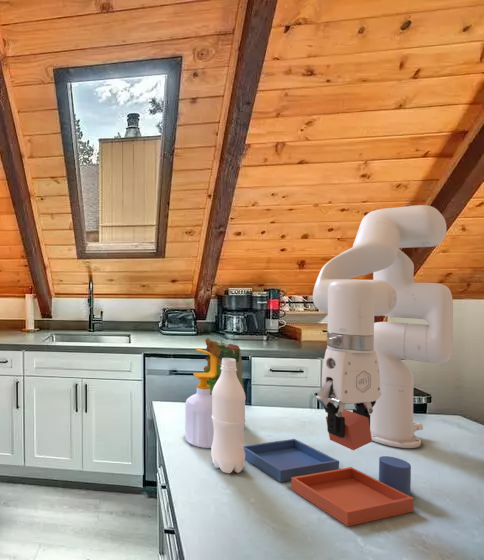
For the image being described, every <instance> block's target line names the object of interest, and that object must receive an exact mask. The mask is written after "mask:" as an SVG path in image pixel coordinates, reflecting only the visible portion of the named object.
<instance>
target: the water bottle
mask: <svg viewBox="0 0 484 560" xmlns="http://www.w3.org/2000/svg"><path fill="white" fill-rule="evenodd" d="M221 366H222V367H221V368H220V369H221V375H220V377H219V379H218V380H217V382H216V384H215V386H214V388H213V391H212V421H213V427H214V436H213V443H212V447H211V448H210V449H211V451H210V455H211V461H212V464H213V465H214V468H216V469H220V471H221V472H223V473H226V474H231V473H232V472H235V473H237V474H238V473H241V472H242V470H243V469H244V466H245V463H246V459H245V450H244V446H245V445H244V429H245V426H244V424H246V399H247V398H246V392H245V389H244V390H243V388H242V385H241V384H240V382H239V380H238V378H237V375H236V371H237V369H236V359H233V358H222V365H221Z"/></svg>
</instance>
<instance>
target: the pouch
mask: <svg viewBox="0 0 484 560" xmlns="http://www.w3.org/2000/svg"><path fill="white" fill-rule="evenodd" d="M204 342H205V345H206V348H205V351H208V352H210V353H211V354H213V355H214V356H216V358H217V375H216V377H215V378H209V380H208V381H207V385H209V386H210V395H211V396H212V391H213V388H214V386H215V384H216V382H217V380H218V379H219V377H220V375H221V369H220V368H221V367H222V366H221V365H222V358H233V359H236V369H237V371H236V375H237V378H238V380H239V382H240V384H241V385H242V388H243V390H244V391H245V385H244V382H243V381H244V380H243V372H244V369H243V368H244V366H243V365H244V364H243V359H242V353H241V348H240V346H239V345H237V344H234V343H226V342H223V341H222V340H220V342H219V341H215V340H212V339H211V338H210V337H207V338H205V339H204ZM206 355H207V356H205V357H204V358H205V361H207V363H206V364H207V365H205V366H204V367H203V373H209V372H210V363H211V358H210V355H208V354H206ZM245 424H246V423H245ZM245 424H244V427H245Z"/></svg>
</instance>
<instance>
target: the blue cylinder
mask: <svg viewBox="0 0 484 560" xmlns="http://www.w3.org/2000/svg"><path fill="white" fill-rule="evenodd" d="M411 480H412V465H411V464H410V462H408V461H406V460H404V459H401V458H400V457H399V458H398V457H394V456H389V455H382V456H379V458H378V481H380V482H382V483H384V484H386V485H388V486H390V487H392V488H394V489H396V490H398V491H400V492H402V493H404V494H406V495H408V496H410V497H411V493H412V492H411V486H412V485H411V484H412V483H411V482H412V481H411Z"/></svg>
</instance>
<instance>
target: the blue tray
mask: <svg viewBox="0 0 484 560" xmlns="http://www.w3.org/2000/svg"><path fill="white" fill-rule="evenodd" d="M244 450H245V461H248V462H249V463H250V464H252V465H253V466H255V467H256V468H258V469H259V470H261V471H262V472H264V473H266V474H267V475H269V476H270V477H271V478H273V479H274V480H276V481H278V482H279V483H283V482H289V481H291V477H297V476H303V475H308V474H314V473H320V472H326V471H331V470H337V469H340V460H338V459H336V458H334V457H332V456H330V455H328V454H326V453H324V452H322V451H320V450H318V449H316V448H314V447H312V446H310V445H308V444H307V443H304V442H302V441H300V440H298V439H297V438H290V439H283V440H276V441H270V442H261V443H254V444H247V445H244Z"/></svg>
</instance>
